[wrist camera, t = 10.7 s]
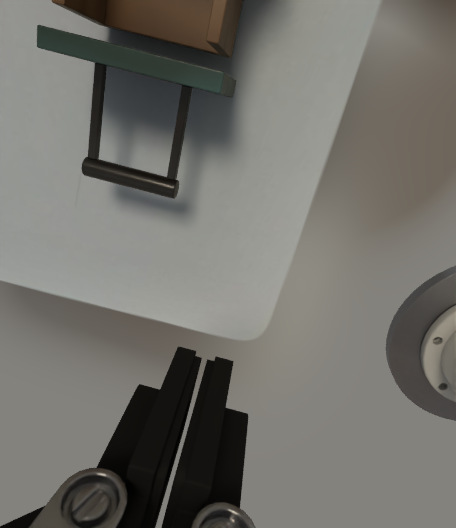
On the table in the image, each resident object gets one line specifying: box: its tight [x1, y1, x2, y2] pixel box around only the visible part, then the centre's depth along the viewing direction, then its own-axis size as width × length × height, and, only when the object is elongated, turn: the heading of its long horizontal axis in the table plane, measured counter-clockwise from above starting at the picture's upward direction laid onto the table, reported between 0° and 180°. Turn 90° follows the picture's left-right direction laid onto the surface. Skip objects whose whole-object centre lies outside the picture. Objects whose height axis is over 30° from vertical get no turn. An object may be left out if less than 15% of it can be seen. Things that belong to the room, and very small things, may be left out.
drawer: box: [37, 0, 243, 199], centre depth 24 cm, size 21×11×7 cm, turn 167°
